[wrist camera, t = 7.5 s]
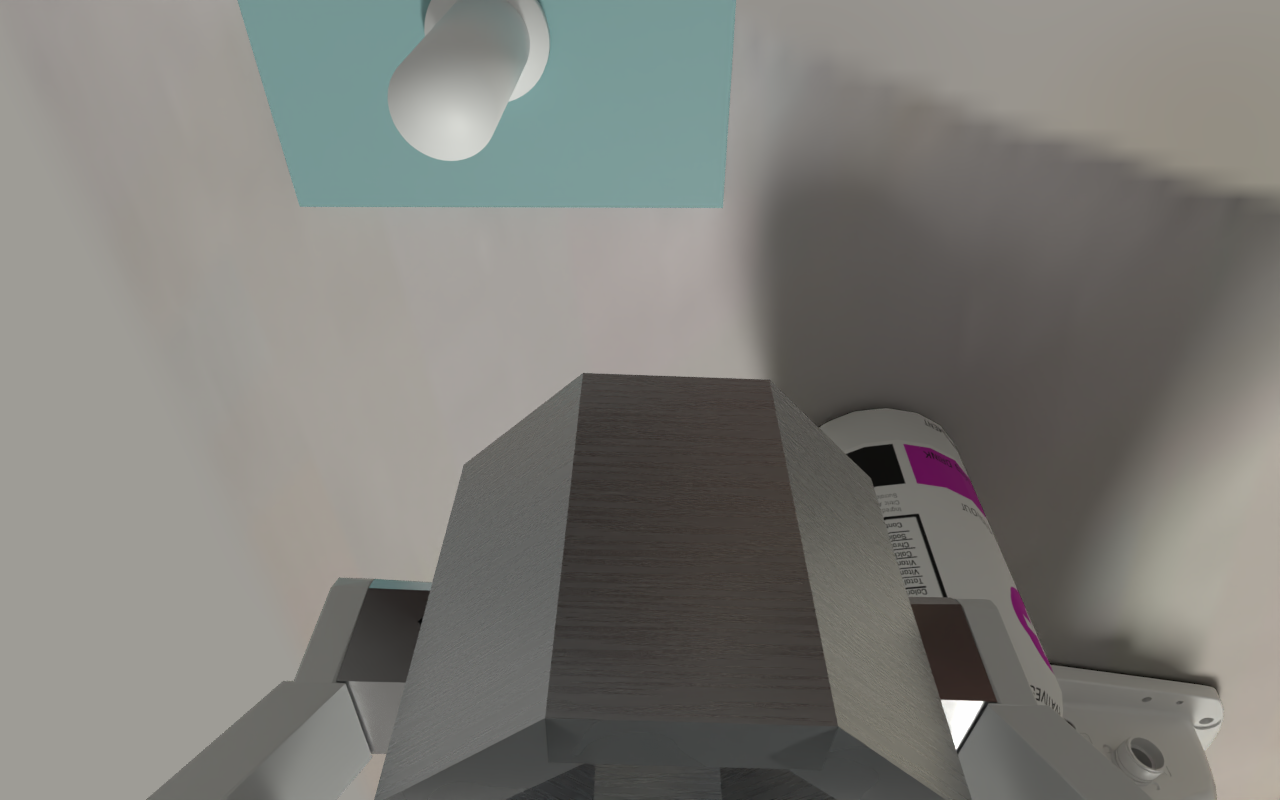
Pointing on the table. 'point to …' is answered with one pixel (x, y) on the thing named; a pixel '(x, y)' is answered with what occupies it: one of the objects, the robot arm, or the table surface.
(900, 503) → the supplement can
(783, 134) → the table surface
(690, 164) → the duct flange
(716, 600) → the collar
